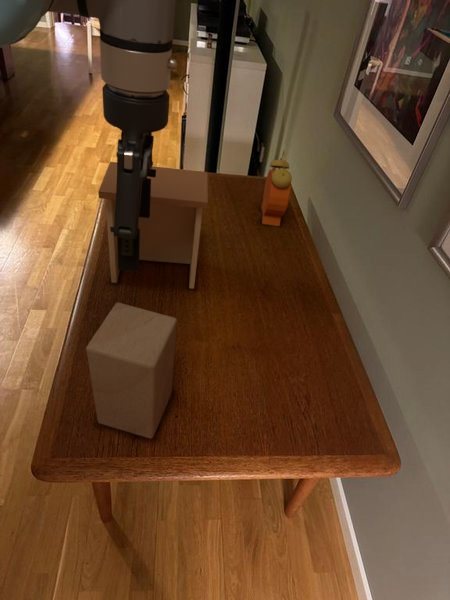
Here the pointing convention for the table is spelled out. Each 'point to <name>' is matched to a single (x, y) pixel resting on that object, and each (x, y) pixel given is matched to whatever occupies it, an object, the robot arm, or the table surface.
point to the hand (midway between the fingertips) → (135, 240)
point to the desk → (163, 217)
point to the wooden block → (132, 368)
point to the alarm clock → (276, 192)
